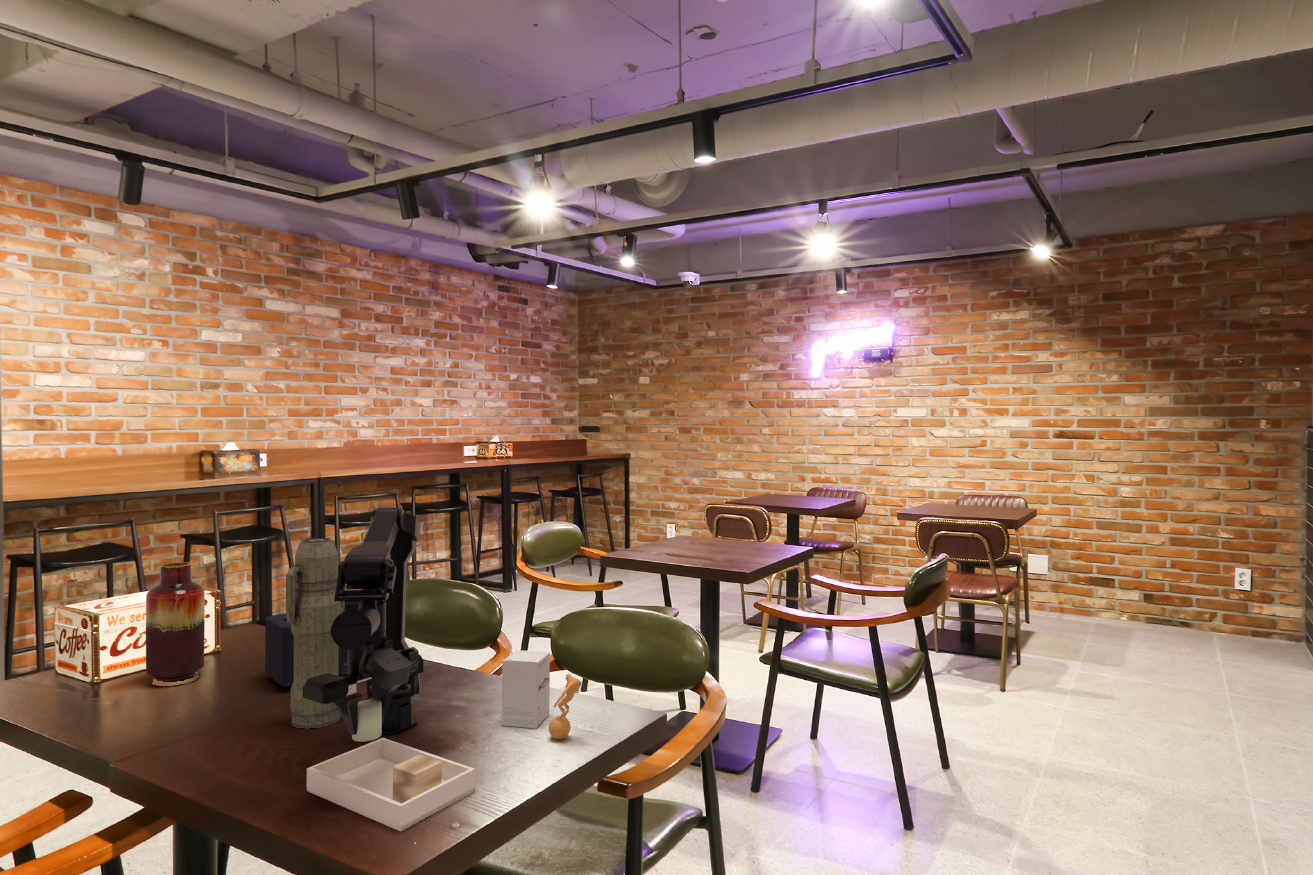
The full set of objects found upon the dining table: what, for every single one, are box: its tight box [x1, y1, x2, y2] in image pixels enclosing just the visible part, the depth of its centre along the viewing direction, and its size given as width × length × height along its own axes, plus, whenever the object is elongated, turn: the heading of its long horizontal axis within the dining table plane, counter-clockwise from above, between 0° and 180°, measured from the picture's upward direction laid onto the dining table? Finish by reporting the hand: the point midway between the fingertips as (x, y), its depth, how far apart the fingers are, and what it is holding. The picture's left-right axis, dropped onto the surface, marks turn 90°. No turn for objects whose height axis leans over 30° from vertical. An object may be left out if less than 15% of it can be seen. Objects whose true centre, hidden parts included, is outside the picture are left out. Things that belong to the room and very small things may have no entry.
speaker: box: [264, 610, 348, 689], centre depth 171 cm, size 22×13×15 cm, turn 133°
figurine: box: [548, 673, 582, 740], centre depth 136 cm, size 8×6×12 cm
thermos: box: [285, 537, 346, 730], centre depth 144 cm, size 9×12×35 cm
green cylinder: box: [351, 699, 382, 743], centre depth 119 cm, size 4×4×5 cm
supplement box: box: [501, 650, 551, 729], centre depth 144 cm, size 7×7×13 cm
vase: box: [145, 561, 206, 682], centre depth 167 cm, size 11×11×26 cm
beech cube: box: [393, 755, 442, 803], centre depth 112 cm, size 5×5×5 cm
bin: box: [306, 737, 476, 833], centre depth 115 cm, size 22×14×4 cm, turn 58°
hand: (366, 729), depth 119 cm, fingers closed on green cylinder, 4 cm apart
